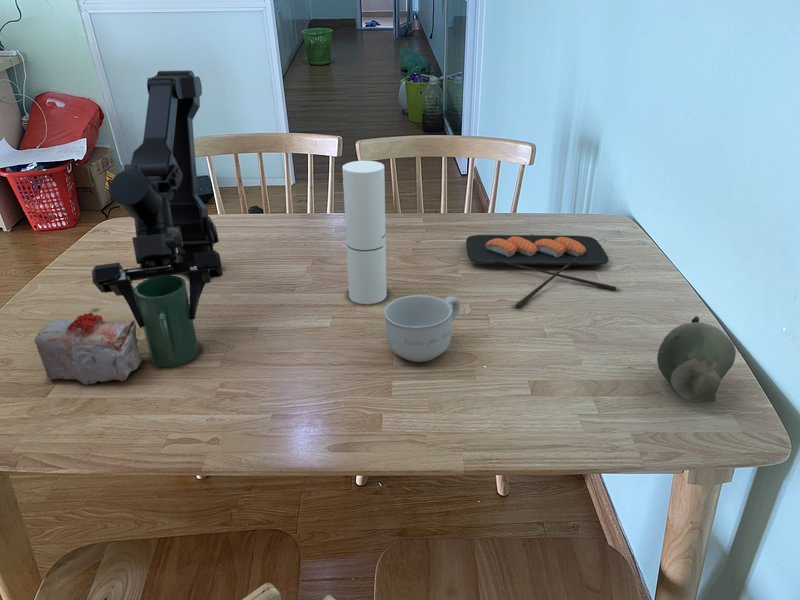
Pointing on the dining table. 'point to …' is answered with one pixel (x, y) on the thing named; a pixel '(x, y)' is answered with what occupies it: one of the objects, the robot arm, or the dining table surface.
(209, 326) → the dining table surface
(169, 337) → the mug
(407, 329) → the teacup
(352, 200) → the cylindrical container
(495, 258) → the sushi plate
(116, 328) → the food item
